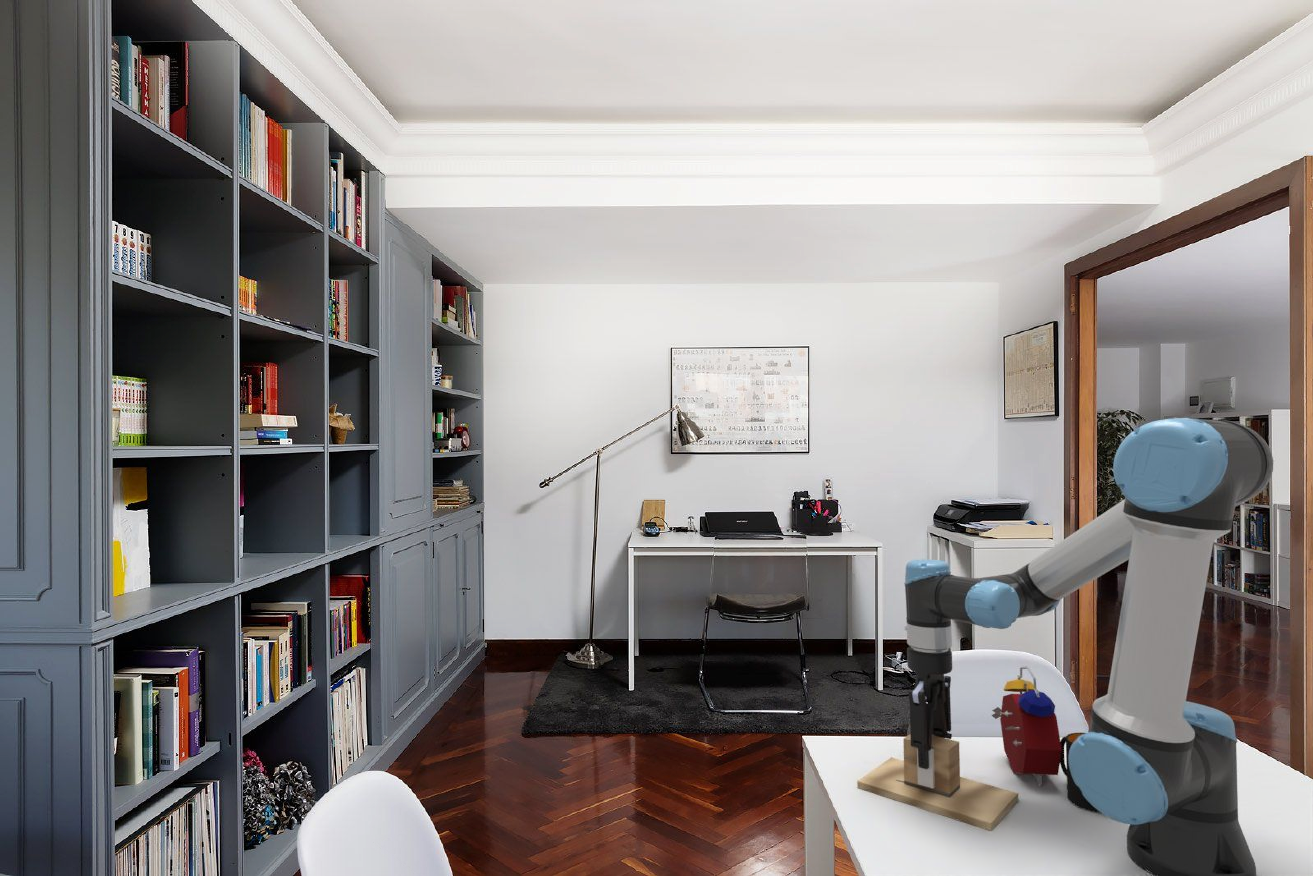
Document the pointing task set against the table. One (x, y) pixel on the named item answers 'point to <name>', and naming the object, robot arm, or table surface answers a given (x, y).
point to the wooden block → (935, 766)
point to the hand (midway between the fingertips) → (932, 780)
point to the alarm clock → (1029, 729)
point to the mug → (1072, 789)
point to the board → (965, 805)
